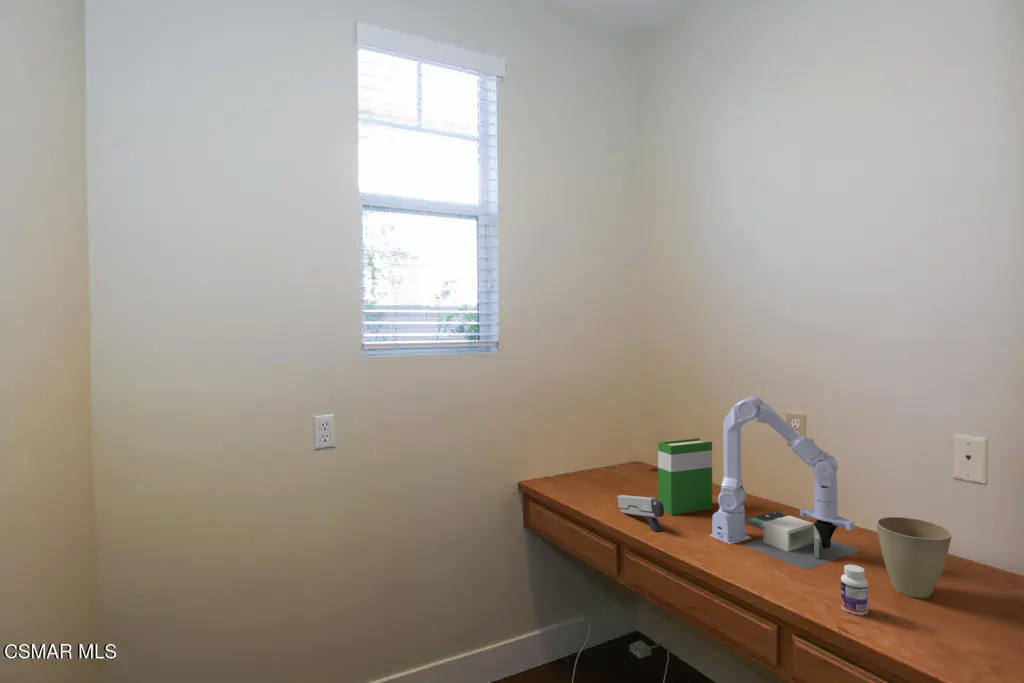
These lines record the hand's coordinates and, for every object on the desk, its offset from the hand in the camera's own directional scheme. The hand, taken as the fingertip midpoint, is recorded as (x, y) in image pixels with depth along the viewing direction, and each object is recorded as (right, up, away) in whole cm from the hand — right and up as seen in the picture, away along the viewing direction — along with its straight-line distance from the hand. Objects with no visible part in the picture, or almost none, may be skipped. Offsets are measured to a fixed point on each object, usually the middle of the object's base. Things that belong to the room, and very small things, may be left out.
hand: (826, 547), depth 159 cm
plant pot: (+9, -3, -21) cm, 23 cm away
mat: (-4, -2, +6) cm, 8 cm away
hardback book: (-27, -2, +42) cm, 50 cm away
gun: (-46, -3, +30) cm, 55 cm away
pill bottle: (-10, -4, -29) cm, 31 cm away
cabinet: (-6, -2, +9) cm, 11 cm away
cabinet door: (-1, -2, +3) cm, 3 cm away
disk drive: (-3, -3, +25) cm, 25 cm away
